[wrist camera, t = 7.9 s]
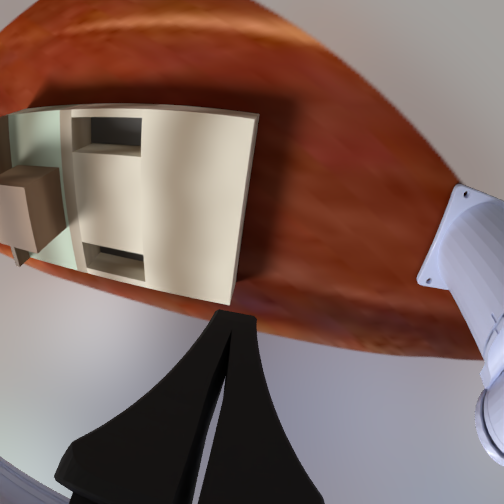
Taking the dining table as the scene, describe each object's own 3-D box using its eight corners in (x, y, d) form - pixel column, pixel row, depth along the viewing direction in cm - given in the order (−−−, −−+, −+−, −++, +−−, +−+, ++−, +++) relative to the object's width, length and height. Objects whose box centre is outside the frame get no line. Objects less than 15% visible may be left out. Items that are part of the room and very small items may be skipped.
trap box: (259, 114, 16) (250, 123, 13) (235, 282, 23) (225, 320, 19) (26, 108, 17) (-11, 120, 13) (42, 241, 23) (16, 265, 20)
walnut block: (59, 167, 17) (24, 187, 14) (66, 227, 19) (37, 253, 16) (17, 164, 17) (-16, 183, 14) (26, 219, 19) (-2, 242, 16)
